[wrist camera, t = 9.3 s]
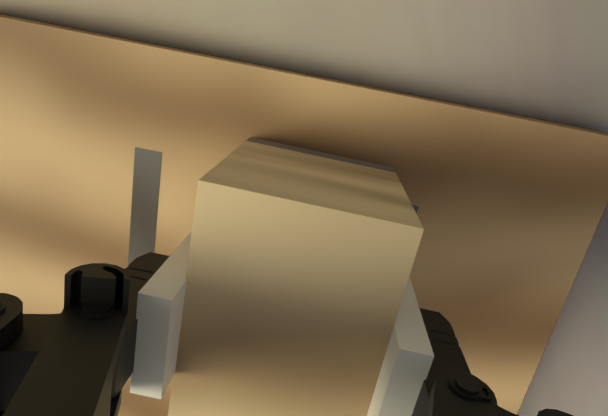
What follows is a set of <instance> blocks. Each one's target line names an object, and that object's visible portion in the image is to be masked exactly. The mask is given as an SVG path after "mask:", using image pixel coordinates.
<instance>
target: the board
mask: <svg viewBox="0 0 608 416" xmlns="http://www.w3.org/2000/svg"><path fill="white" fill-rule="evenodd" d="M250 137H254V138H258V139H263V140H268V141H272V142H277V143H282V144H286V145H291V146H296V147H300V148H305V149H310V150H314V151H319V152H324V153H328V154H333V155H338V156H342V157H347V158H351V159H356V160H361V161H365V162H370V163H375V164H379V165H384V166H389V167H393V168H394V170H395V172H396V174H397V176H398V178H399V180H400V182H401V184H402V186H403V188H404V190H405V192H406V194H407V196H408V198H409V200H410V202H411V204H412V206H413V208H414V210H415V212H416V214H417V216H418V218H419V220H420V222H421V224H422V226H423V228H424V230H423V234H422V237H421V240H420V243H419V247H418V250H417V253H416V256H415V260H414V263H413V266H412V269H411V273H410V276H409V277H410V280H411V283H412V286H413V289H414V293H415V296H416V299H417V302H418V305H419V308H422V309H427V310H431V311H436V312H440V313H441V314H442V315H443V316H444V317H445V318H446V319H447V320H448V321H449V323H450V324H451V326H452V328H453V331H454V333H455V337H456V338H457V340H458V343H459V347H460V348H461V350H462V353H463V355H464V357H465V360H466V362H467V365H468V367H469V370H470V372H471V374H472V375H474V376H476V377H478V378H479V379H480V380H482V381H483V382H484V383H486V384H487V385H488V386H489V387H490V389H491V390H492V391H493V392H494V394H495V397H496V399H497V405H498V406H499V407H501V408H503V409H505V410H507V411H509V412H511V413H514V414H516V415H517V413H518V410H519V408H520V406H521V403H522V401H523V399H524V396H525V394H526V392H527V389H528V387H529V385H530V382H531V380H532V378H533V375H534V373H535V371H536V368H537V366H538V364H539V361H540V359H541V357H542V355H543V352H544V350H545V348H546V345H547V343H548V341H549V338H550V336H551V334H552V331H553V329H554V327H555V324H556V322H557V320H558V317H559V315H560V313H561V310H562V308H563V306H564V303H565V301H566V299H567V296H568V294H569V292H570V289H571V287H572V285H573V282H574V280H575V278H576V275H577V273H578V271H579V268H580V266H581V264H582V261H583V259H584V257H585V254H586V252H587V250H588V247H589V245H590V243H591V240H592V238H593V236H594V233H595V231H596V229H597V226H598V224H599V222H600V219H601V217H602V215H603V212H604V210H605V208H606V205H607V203H608V133H604V132H601V131H595V130H590V129H585V128H580V127H575V126H570V125H565V124H560V123H555V122H549V121H544V120H539V119H534V118H529V117H524V116H519V115H514V114H509V113H503V112H498V111H493V110H488V109H483V108H478V107H473V106H468V105H463V104H457V103H452V102H447V101H442V100H437V99H432V98H427V97H422V96H417V95H412V94H406V93H401V92H396V91H391V90H386V89H381V88H376V87H371V86H366V85H360V84H355V83H350V82H345V81H340V80H335V79H330V78H325V77H320V76H314V75H309V74H304V73H299V72H294V71H289V70H284V69H279V68H274V67H268V66H263V65H258V64H253V63H248V62H243V61H238V60H233V59H228V58H223V57H217V56H212V55H207V54H202V53H197V52H192V51H187V50H182V49H177V48H171V47H166V46H161V45H156V44H151V43H146V42H141V41H136V40H131V39H125V38H120V37H115V36H110V35H105V34H100V33H95V32H90V31H85V30H79V29H74V28H69V27H64V26H59V25H54V24H49V23H44V22H39V21H34V20H28V19H23V18H18V17H13V16H8V15H3V14H0V293H8V294H11V295H14V296H16V297H18V298H19V299H20V300H21V301H22V302H23V314H59V313H61V312H62V310H63V309H64V279H65V274H66V273H67V272H68V271H69V270H71V269H73V268H75V267H78V266H80V265H85V264H91V263H107V264H112V265H117V266H119V267H121V268H124V269H125V268H127V266H128V265H129V264H130V263H131V262H132V261H133V260H134V259H135V258H137V257H139V256H142V255H144V254H147V253H149V252H153V253H158V254H162V255H167V256H170V255H171V254H172V253H173V252H174V251H175V249H176V248H177V247H178V246H179V245H180V244H181V242H182V241H183V240H184V239H185V238H186V237H187V236H188V234H189V233H190V232H191V231H192V224H193V216H194V209H195V201H196V193H197V185H198V180H199V179H200V178H201V177H203V176H204V175H205V174H206V173H207V172H209V171H210V170H211V169H212V168H214V167H215V166H216V165H217V164H218V163H220V162H221V161H222V160H223V159H224V158H226V157H227V156H228V155H229V154H231V153H232V152H233V151H234V150H235V149H237V148H238V147H239V146H240V145H242V144H243V143H244V142H245V141H246V140H248V139H249V138H250ZM172 379H173V378H172ZM130 384H131V376H130V377H129V379H128V380H127V382H126V383H125V385H124V386H123V388H122V394H121V405H120V409H119V413H118V416H168V410H169V402H170V394H171V387H172V380H171V381H170V383H169V385H168V387H167V389H166V391H165V393H164V395H163V397H162V399H157V398H152V397H148V396H143V395H138V394H134V393H130ZM366 416H367V415H366Z"/></svg>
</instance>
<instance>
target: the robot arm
mask: <svg viewBox="0 0 608 416" xmlns="http://www.w3.org/2000/svg"><path fill="white" fill-rule="evenodd" d="M191 232H192V231H191ZM191 232H190V233H189V234H188V236H187V237H186V238H185V239H184V240H183V241H182V242H181V244H180V245H179V246H178V247H177V248H176V249H175V251H174V252H173V253H172V254H171V255H170V256H167V255H162V254H158V253H153V252H149V253H147V254H144V255H142V256H139V257H137V258H135V259H134V260H133V261H132V262H131V263H130V264H129V265H128V266H127V268H125V269H124V268H121V267H119V266H117V265H112V264H107V263H91V264H85V265H80V266H78V267H75V268H73V269H71V270H69V271H68V272H67V273H66V274H65V279H64V309H63V310H62V312H61V313H59V314H23V302H22V301H21V300H20V299H19V298H18V297H16V296H14V295H11V294H8V293H0V416H118V413H119V409H120V405H121V394H122V388H123V386H124V385H125V383H126V382H127V380H128V379H129V377H130V376H131V384H130V393H134V394H138V395H143V396H148V397H152V398H157V399H162V397H163V395H164V393H165V391H166V389H167V387H168V385H169V383H170V381H171V380H172V378H173V376H174V374H175V369H176V361H177V353H178V345H179V337H180V329H181V321H182V313H183V305H184V297H185V289H186V281H187V279H185V278H186V270H187V263H188V255H189V247H190V240H191ZM367 416H518V415H516V414H514V413H511V412H509V411H507V410H505V409H503V408H501V407H499V406H498V405H497V399H496V397H495V394H494V392H493V391H492V390H491V389H490V387H489V386H488V385H487V384H486V383H484V382H483V381H482V380H480V379H479V378H478V377H476V376H474V375H472V374H471V372H470V370H469V367H468V365H467V362H466V360H465V357H464V355H463V353H462V350H461V348H460V347H459V343H458V340H457V338H456V337H455V333H454V331H453V328H452V326H451V324H450V323H449V321H448V320H447V319H446V318H445V317H444V316H443V315H442V314H441V313H440V312H436V311H431V310H427V309H422V308H419V305H418V302H417V299H416V296H415V293H414V289H413V286H412V283H411V280H410V277H409V279H408V282H407V286H406V289H405V292H404V295H403V299H402V302H401V305H400V308H399V312H398V315H397V318H396V321H395V325H394V328H393V331H392V334H391V338H390V341H389V344H388V347H387V351H386V354H385V357H384V360H383V364H382V367H381V370H380V373H379V377H378V380H377V383H376V386H375V390H374V393H373V396H372V399H371V403H370V406H369V409H368V412H367ZM537 416H573V415H570V414H568V413H565V412H562V411H559V410H554V409H544V410H542V411H539V412H538V415H537Z"/></svg>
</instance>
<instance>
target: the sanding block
mask: <svg viewBox="0 0 608 416" xmlns="http://www.w3.org/2000/svg"><path fill="white" fill-rule="evenodd" d="M423 230H424V228H423V226H422V224H421V222H420V220H419V218H418V216H417V214H416V212H415V210H414V208H413V206H412V204H411V202H410V200H409V198H408V196H407V194H406V192H405V190H404V188H403V186H402V184H401V182H400V180H399V178H398V176H397V174H396V172H395V170H394V168H393V167H389V166H384V165H379V164H375V163H370V162H365V161H361V160H356V159H351V158H347V157H342V156H338V155H333V154H328V153H324V152H319V151H314V150H310V149H305V148H300V147H296V146H291V145H286V144H282V143H277V142H272V141H268V140H263V139H258V138H254V137H250V138H249V139H248V140H246V141H245V142H244V143H243V144H242V145H240V146H239V147H238V148H237V149H235V150H234V151H233V152H232V153H231V154H229V155H228V156H227V157H226V158H224V159H223V160H222V161H221V162H220V163H218V164H217V165H216V166H215V167H214V168H212V169H211V170H210V171H209V172H207V173H206V174H205V175H204V176H203V177H201V178H200V179H199V180H198V185H197V193H196V201H195V209H194V216H193V224H192V232H191V240H190V247H189V255H188V263H187V270H186V278H185V279H187V281H186V289H185V297H184V305H183V313H182V321H181V329H180V337H179V345H178V353H177V361H176V369H175V374H174V376H173V379H172V387H171V394H170V402H169V410H168V416H366V415H367V412H368V409H369V406H370V403H371V399H372V396H373V393H374V390H375V386H376V383H377V380H378V377H379V373H380V370H381V367H382V364H383V360H384V357H385V354H386V351H387V347H388V344H389V341H390V338H391V334H392V331H393V328H394V325H395V321H396V318H397V315H398V312H399V308H400V305H401V302H402V299H403V295H404V292H405V289H406V286H407V282H408V279H409V276H410V273H411V269H412V266H413V263H414V260H415V256H416V253H417V250H418V247H419V243H420V240H421V237H422V234H423Z"/></svg>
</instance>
